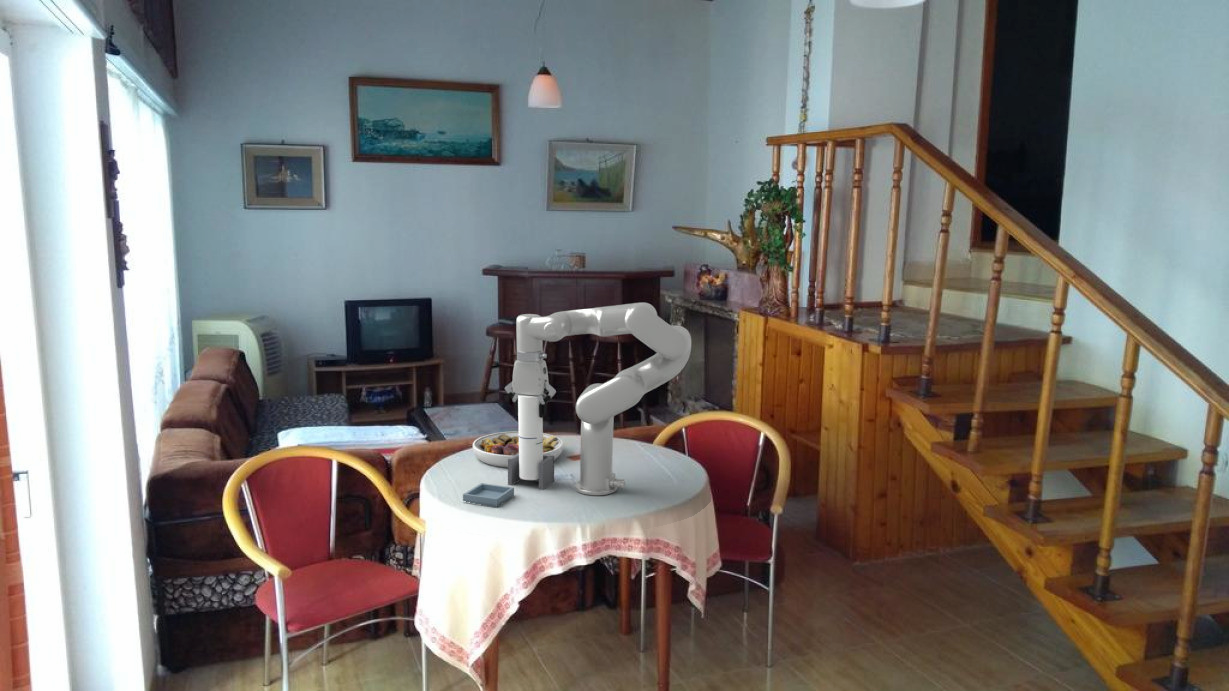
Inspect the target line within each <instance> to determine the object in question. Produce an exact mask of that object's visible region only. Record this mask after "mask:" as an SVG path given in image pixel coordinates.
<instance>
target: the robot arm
mask: <svg viewBox="0 0 1229 691" xmlns="http://www.w3.org/2000/svg"><path fill="white" fill-rule="evenodd" d="M515 323H516V325H515V326H516V360H515V361H514V364H513V369H512V370H513V371H512V381H510V383H508V384H507V385H506V386H505V387H504V390H505V392H506V393H507V394H508V397H510V398H511V399H512V402H513V407H514V408H513V409H514V410H513V411H514V415H515V416H518V395H520V394H522V395H534V396H538V398H539V400H540V402H541V404H540V405H539V417H540V418H542V417H544V418H545V417H546V414H547V412H548V410H547V409H548V408H547V403H548V402H549V401H550V400H551V399H552V398H553V397H554V396H555V394H556V393H557V391H556V389H555V388H554V387H553V386H552V385H551V384H550V383H549V375H548V366H547V363H546V360H544V359H547V355H548V354H547V353H544V350H543V341H545V342H558V341H560V340H562V339H563V338H564V337H567V336H569V337H570V336H575V335H576V336H577V335H588V334H589V335H590V334H591V335H597V336H599V337H611V336H619V335H629V334H630V335H632V336H634V337H635V338H636V339H638V340H639V341H640V342H642V343H643V344H644V345H646V346H647V347H648V348H650V349H651V350H653V351H654V352H655V354H654V355H652V356H650V357H648V358H646V359H644V360H643V361H641V362H638V363H636V364H634V365H633V366H631V367H628V368H626V369H623V370H621V371H620V372H618V373H617V374H616V375H615V376H614V377H613V378H611V379H609V380H607V381H606V382H604V383H603V382H602V383H593V384H590V385H589V386H587V387H586V388H585V389H584V390H583V392H582V393H581V394H580V395H579V397H578V398H577V401H576V403H575V413H576V414H577V417H578V419H580V420H581V421H580V452H579V453H580V458H579V459H580V463H579V464H580V465H579V471H580V472H579V473H580V474H579V476H580V477H579V481H577V482H575V484H574V489H575V491H576V492H578V493H579V494H583V495H587V496H605V495H606V496H607V495H610V494H612V493H615V492H616V491H617V490H618V488H621V489H624V488H626V487H625V486H626V482H625V479H624V478H617V477H616V473H614V472H613V453H614V452H613V451H614V450H613V448H614V447H613V446H614V445H613V443H614V418H615V416H617V415H619V414H621V413H623V412H625V411H627V410H629V409H630V408H632V407H634V406H635V405H637V404H638V403H639V402H640V401H641V399H642V398H643V397H644V395H645V394H647V393H648V392H650V391H653V390H654V389H657V388H658V387H660V386H661V385H664V384H665V383H667V382H668V381H671V380H672V379H673V378H675V377H677V375H679V374H680V373H681V371H682V370H683V369H684V368H685V367H686V364H687V362H688V361H689V358H690V356H691V350H692V337H691V334H690V332H689V330H688V329H687V328H686V327H684V326H681V325H671V324H670V323H668V322H666V321H665V320H664V319H662V318H661V317H660V316H659V315H658V312H657V310H656V308H655V307H654V305H652V304H650V303H648V302H633V303H625V304H616V305H607V306H598V307H597V306H596V307H593V308H583V309H581V308H580V309H572V310H565V311H564V310H563V311H557V312H553V313H552V314H549V315H546V316H541V315H539V314H533V313H525V314H520V315H518V316H517V317H516V322H515ZM547 393H548V394H547Z"/></svg>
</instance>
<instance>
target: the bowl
mask: <svg viewBox="0 0 1229 691" xmlns="http://www.w3.org/2000/svg"><path fill="white" fill-rule="evenodd" d="M563 450H564V441H563V440H562V439H561V438H560V437H558V436H555V435H554V434H548V433H546V432H545V433H544V432H543V455H551V456H554V461H555V460H557V459H558V458H559V457H560V456H561V454H562V453H563ZM472 451H473V454H474V455H475V457H476V458H477V459H479V460H480V461H481V462H483V463H484V464H488V465H489V466H493V467H499V468H508V459H509V458H511V457H512V456H514V455H516V454H517V453H519V430H518V431H502V432H495V433H491V434H486V435H483V436H480V437H478V438H477V439H475V440H474V441H473V442H472Z"/></svg>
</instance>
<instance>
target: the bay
mask: <svg viewBox="0 0 1229 691" xmlns="http://www.w3.org/2000/svg"><path fill="white" fill-rule="evenodd" d="M520 480H522V479H521V478H520V477H519V453H517V454H516V455H514V456H512V457H511V458H509V459H508V467H507V486H513V485H514V484H516V483H517V482H519V481H520ZM536 481H537V482H538V490H540V491H541V490H544V489H546V488H547V487H548V486H550V485H551V484H553V483H554V482H555V460H554V456H551V455H543V461H541V462H540V463H539V479H537V480H536Z"/></svg>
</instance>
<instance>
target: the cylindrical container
mask: <svg viewBox="0 0 1229 691" xmlns="http://www.w3.org/2000/svg"><path fill="white" fill-rule="evenodd" d="M540 404H541V402H540V400H539V398H538V396H534V395H522V394H520V395H518V415H517V416H518V417H517V418H518V431H519V477H520V478H521V479H520V480H525V481H538V480H537V479H539V463H540V462H541V461H543V433H544V431H543V428H544V427H543V425H544V422H543V421H544V420H543V419H544V418H543V417H542V418H540V417H539V405H540Z"/></svg>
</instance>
